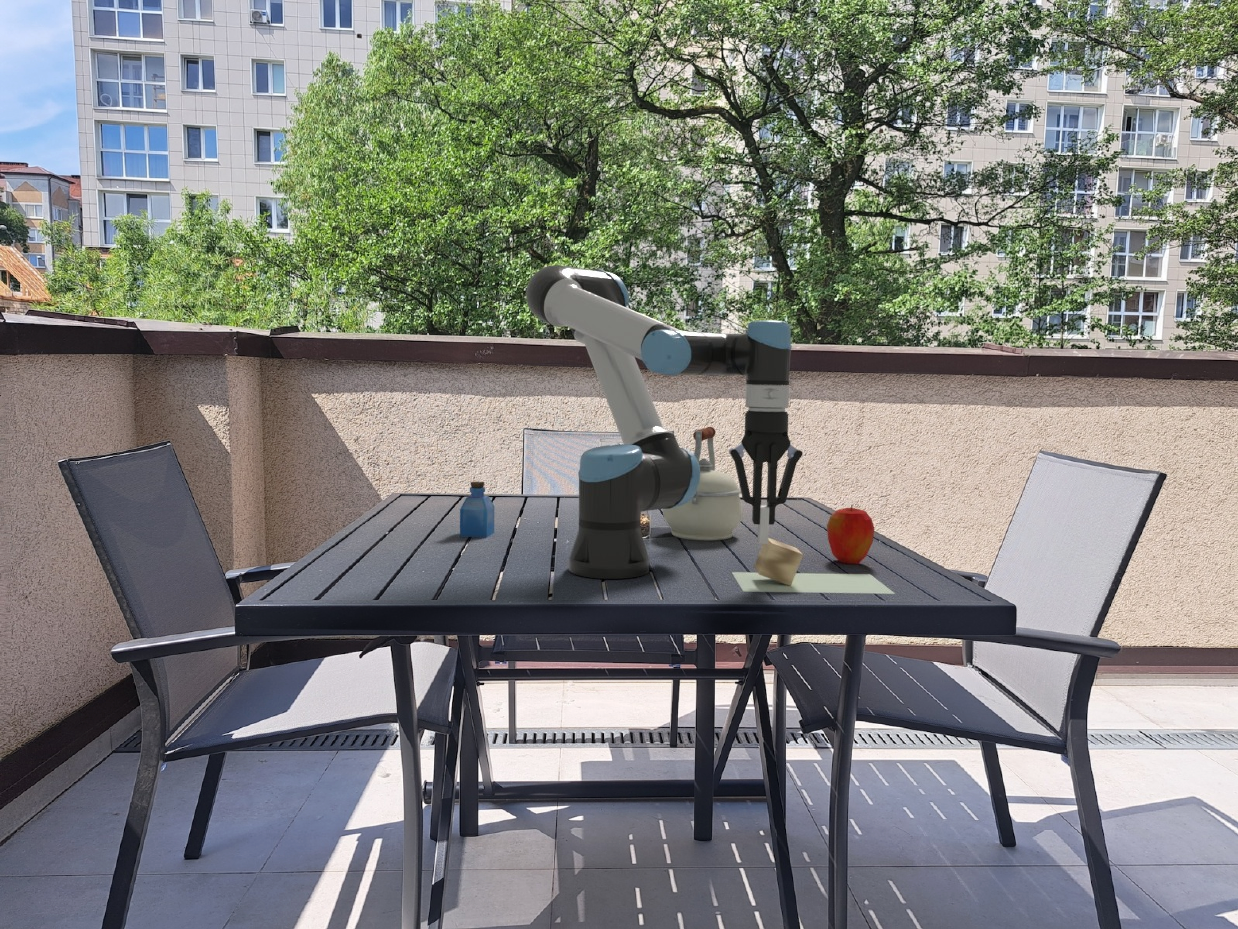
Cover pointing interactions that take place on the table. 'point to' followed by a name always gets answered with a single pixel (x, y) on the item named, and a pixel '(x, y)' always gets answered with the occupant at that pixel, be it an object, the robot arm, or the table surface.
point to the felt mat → (813, 583)
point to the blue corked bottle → (477, 513)
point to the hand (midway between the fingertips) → (762, 542)
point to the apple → (850, 534)
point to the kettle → (707, 500)
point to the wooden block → (778, 561)
